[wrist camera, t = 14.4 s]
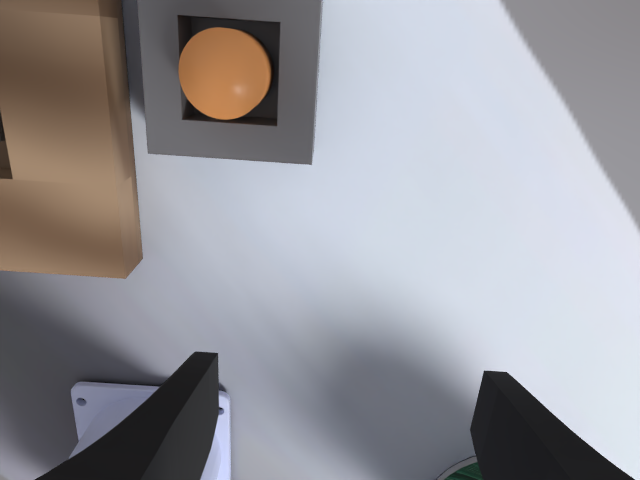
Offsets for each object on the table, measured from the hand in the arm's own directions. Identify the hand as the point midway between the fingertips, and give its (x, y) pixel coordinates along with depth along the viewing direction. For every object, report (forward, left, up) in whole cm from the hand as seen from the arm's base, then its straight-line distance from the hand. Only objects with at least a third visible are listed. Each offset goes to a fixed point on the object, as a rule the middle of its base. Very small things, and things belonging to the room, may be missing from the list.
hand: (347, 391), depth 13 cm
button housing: (+8, +5, -9) cm, 13 cm away
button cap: (+7, +4, -8) cm, 12 cm away
